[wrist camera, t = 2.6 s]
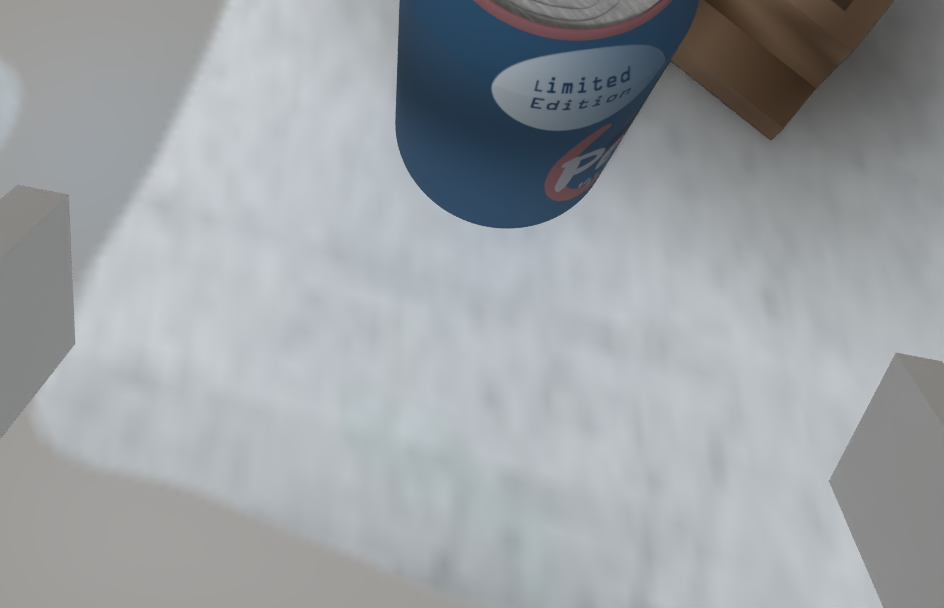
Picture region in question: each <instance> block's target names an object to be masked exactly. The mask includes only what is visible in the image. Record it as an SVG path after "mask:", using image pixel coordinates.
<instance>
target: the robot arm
mask: <svg viewBox="0 0 944 608" xmlns="http://www.w3.org/2000/svg"><path fill="white" fill-rule="evenodd" d="M74 345H75V328H74V305H73V283H72V260H71V237H70V215H69V195H67V194H62V193H57V192H52V191H46V190H41V189H36V188H31V187H25V186H20V185H17V186H16V187H15V188H14V189H12V190H11V191H10V192H9V193H7V194H6V195H5V196H4V197H3V198H1V199H0V439H1V438H2V436H3V435H4V434H5V433H6V431H7V430H8V429H9V427H10V426H11V425H12V424H13V422H14V421H15V420H16V418H17V417H18V416H19V415H20V413H21V412H22V411H23V410H24V408H25V407H26V406H27V404H28V403H29V402H30V401H31V399H32V398H33V397H34V396H35V394H36V393H37V392H38V390H39V389H40V388H41V387H42V385H43V384H44V383H45V382H46V380H47V379H48V378H49V376H50V375H51V374H52V373H53V371H54V370H55V369H56V368H57V366H58V365H59V364H60V362H61V361H62V360H63V359H64V357H65V356H66V355H67V353H68V352H69V351H70V350H71V348H72V347H73V346H74ZM829 482H830V485H831V487H832V489H833V491H834V494H835V496H836V498H837V501H838V503H839V505H840V508H841V510H842V512H843V515H844V517H845V519H846V522H847V524H848V526H849V529H850V531H851V533H852V536H853V538H854V540H855V543H856V545H857V547H858V550H859V552H860V554H861V557H862V559H863V561H864V563H865V566H866V568H867V570H868V573H869V575H870V577H871V580H872V582H873V584H874V587H875V589H876V591H877V594H878V596H879V598H880V601H881V603H882V605H883V608H944V364H943V363H942V361H937V360H931V359H926V358H921V357H916V356H910V355H905V354H900V353H896V354H895V355H894V357H893V359H892V361H891V363H890V365H889V367H888V369H887V371H886V373H885V375H884V377H883V379H882V380H881V382H880V384H879V386H878V388H877V390H876V392H875V394H874V396H873V398H872V400H871V402H870V403H869V405H868V407H867V409H866V411H865V413H864V415H863V417H862V419H861V421H860V423H859V425H858V426H857V428H856V430H855V432H854V434H853V436H852V438H851V440H850V442H849V444H848V446H847V448H846V450H845V451H844V453H843V455H842V457H841V459H840V461H839V463H838V465H837V467H836V469H835V471H834V473H833V474H832V476H831V478H830V480H829Z"/></svg>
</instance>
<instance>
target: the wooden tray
mask: <svg viewBox="0 0 944 608" xmlns="http://www.w3.org/2000/svg"><path fill="white" fill-rule="evenodd" d="M893 2H894V0H699V3H698V8H697V11H696V14H695V17H694V20H693V22H692V24H691V27H690V29H689V30H688V32H687V34H686V36H685V38H684V39H683V41H682V42H681V44H680V46H679V47H678V49H677V51H676V52H675V54H674V55H673V57H672V59H671V61H672V62H673V63H674V64H676V65H677V66H678V67H679V68H681V69H682V70H683V71H684V72H686V73H687V74H688V75H689V76H691V77H692V78H693V79H694V80H696V81H697V82H698V83H700V84H701V85H702V86H703V87H705V88H706V89H707V90H708V91H710V92H711V93H712V94H713V95H715V96H716V97H717V98H718V99H720V100H721V101H722V102H723V103H725V104H726V105H727V106H728V107H730V108H731V109H732V110H733V111H735V112H736V113H737V114H738V115H740V116H741V117H742V118H743V119H745V120H746V121H747V122H748V123H750V124H751V125H752V126H754V127H755V128H756V129H757V130H759V131H760V132H761V133H762V134H764V135H765V136H766V137H767V138H769V139H770V140H772V139H773V138H774V137H775V136H776V135H777V134H778V133H779V132H780V131H781V130H782V129H783V128H784V127H785V126H786V124H787V123H788V122H789V121H790V120H791V118H792V117H793V116H794V115H795V113H796V112H797V111H798V110H799V109H800V107H801V106H802V105H803V104H804V102H805V101H806V100H807V99H808V98H809V96H810V95H811V94H812V93H813V91H814V90H815V89H816V88H817V87H818V86H819V85H820V84H821V83H822V82H823V81H824V80H825V79H826V78H827V77H828V76H829V75H830V74H831V73H832V72H833V71H834V70H835V69H836V68H837V67H838V66H839V65H840V64H841V63H842V62H843V61H844V60H845V59H846V58H847V57H848V56H849V55H850V54H851V53H852V52H853V51H854V49H855V48H856V47H857V46H858V45H859V43H860V42H861V41H862V40H863V38H864V37H865V36H866V35H867V33H868V32H869V31H870V30H871V29H872V27H873V26H874V25H875V24H876V22H877V21H878V20H879V19H880V17H881V16H882V15H883V14H884V13H885V11H886V10H887V9H888V8H889V6H890V5H891V4H892V3H893Z"/></svg>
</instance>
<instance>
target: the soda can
mask: <svg viewBox="0 0 944 608" xmlns="http://www.w3.org/2000/svg"><path fill="white" fill-rule="evenodd" d="M698 3H699V0H400V7H399V35H398V63H397V92H396V120H395V125H396V137H397V142H398V147H399V150H400V154H401V156H402V159H403V161H404V164H405V166H406V168H407V170H408V172H409V173H410V175H411V177H412V178H413V180H414V181H415V182H416V184H417V185H418V186H419V187H420V189H421V190H422V191H423V192H424V193H425V194H426V195H427V196H428V197H429V198H430V199H431V200H432V201H433V202H435V203H436V204H437V205H439V206H440V207H441V208H443V209H444V210H446V211H447V212H449V213H451V214H453V215H454V216H456V217H459V218H461V219H463V220H466V221H468V222H471V223H474V224H478V225H482V226H487V227H493V228H522V227H528V226H533V225H537V224H540V223H543V222H546V221H549V220H551V219H553V218H555V217H557V216H559V215H561V214H563V213H564V212H566V211H567V210H569V209H570V208H572V207H573V206H574V205H576V204H577V203H578V202H579V201H580V200H581V199H582V198H583V197H584V196H585V195H586V194H587V193H588V191H589V190H590V189H591V188H592V186H593V185H594V183H595V182H596V180H597V179H598V177H599V175H600V174H601V172H602V170H603V169H604V167H605V166H606V164H607V162H608V161H609V159H610V157H611V156H612V154H613V153H614V151H615V149H616V148H617V146H618V145H619V143H620V141H621V140H622V138H623V136H624V135H625V133H626V132H627V130H628V128H629V127H630V125H631V123H632V122H633V120H634V119H635V117H636V115H637V114H638V112H639V110H640V109H641V107H642V106H643V104H644V102H645V101H646V99H647V98H648V96H649V94H650V93H651V91H652V89H653V88H654V86H655V85H656V83H657V81H658V80H659V78H660V76H661V75H662V73H663V72H664V70H665V68H666V67H667V65H668V64H669V62H670V60H671V59H672V57H673V55H674V54H675V52H676V51H677V49H678V47H679V46H680V44H681V42H682V41H683V39H684V38H685V36H686V34H687V32H688V30H689V29H690V27H691V24H692V22H693V20H694V17H695V14H696V11H697V8H698Z"/></svg>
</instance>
